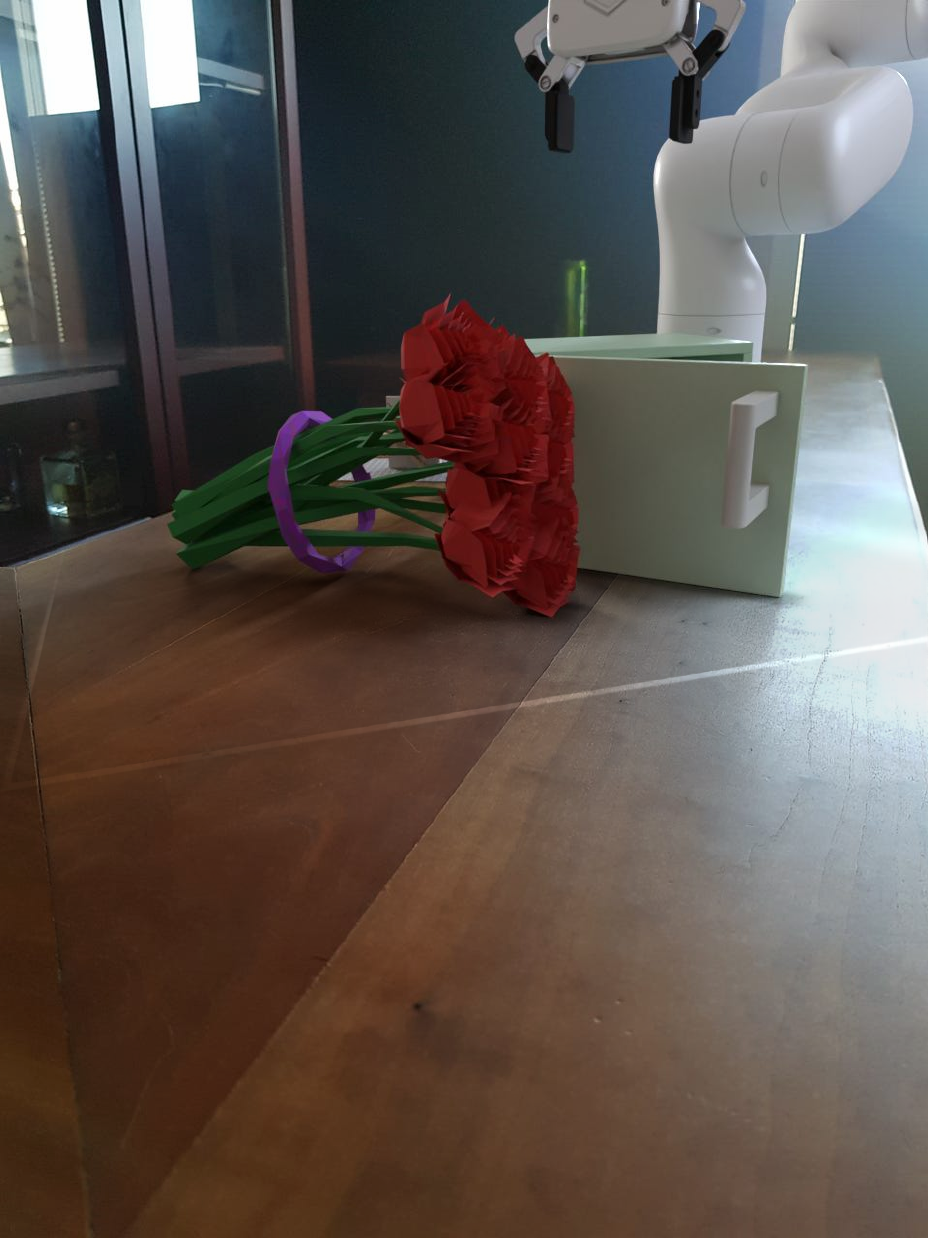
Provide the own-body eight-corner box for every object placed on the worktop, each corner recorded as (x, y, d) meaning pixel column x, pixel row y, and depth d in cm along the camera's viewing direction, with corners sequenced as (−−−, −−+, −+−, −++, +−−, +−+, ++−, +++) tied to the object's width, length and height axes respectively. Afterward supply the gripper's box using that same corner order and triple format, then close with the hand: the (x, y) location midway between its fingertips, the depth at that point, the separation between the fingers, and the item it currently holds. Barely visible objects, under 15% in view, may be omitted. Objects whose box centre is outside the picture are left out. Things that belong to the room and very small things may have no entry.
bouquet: (269, 595, 79) (618, 553, 66) (142, 687, 65) (552, 656, 52) (189, 359, 72) (558, 261, 60) (27, 405, 59) (464, 290, 46)
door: (756, 629, 55) (782, 377, 50) (489, 585, 63) (488, 364, 58) (783, 593, 61) (808, 364, 56) (535, 557, 69) (538, 354, 64)
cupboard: (736, 534, 74) (754, 341, 69) (529, 558, 69) (530, 352, 64) (666, 503, 84) (677, 332, 79) (479, 522, 79) (478, 340, 74)
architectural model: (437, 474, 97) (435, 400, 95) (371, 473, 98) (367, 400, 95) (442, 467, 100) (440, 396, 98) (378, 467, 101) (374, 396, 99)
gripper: (493, -121, 66) (494, 151, 72) (738, -182, 58) (716, 132, 64) (542, -90, 72) (539, 158, 78) (771, -141, 64) (748, 142, 70)
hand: (618, 146), depth 71 cm, fingers open, 9 cm apart
